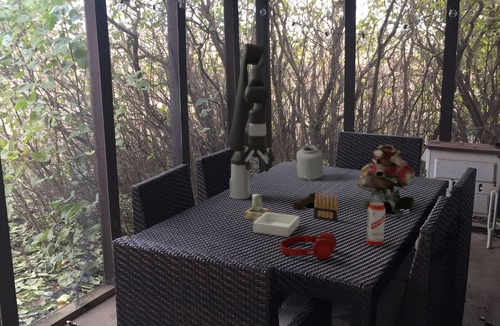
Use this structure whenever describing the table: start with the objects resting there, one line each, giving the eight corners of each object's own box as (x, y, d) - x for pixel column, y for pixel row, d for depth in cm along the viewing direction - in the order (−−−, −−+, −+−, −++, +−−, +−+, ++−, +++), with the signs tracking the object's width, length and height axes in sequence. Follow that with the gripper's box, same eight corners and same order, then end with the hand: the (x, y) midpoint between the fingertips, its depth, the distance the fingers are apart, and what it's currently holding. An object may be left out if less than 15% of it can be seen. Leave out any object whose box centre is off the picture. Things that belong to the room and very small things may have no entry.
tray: (253, 232, 201) (253, 222, 200) (265, 220, 214) (265, 211, 213) (288, 237, 195) (288, 227, 194) (299, 225, 209) (299, 216, 208)
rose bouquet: (415, 202, 241) (420, 141, 235) (407, 220, 215) (412, 152, 209) (363, 196, 252) (366, 137, 245) (349, 212, 226) (352, 147, 219)
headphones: (339, 247, 184) (288, 247, 192) (337, 229, 183) (285, 229, 191) (331, 262, 171) (276, 262, 178) (329, 243, 170) (273, 243, 177)
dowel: (251, 217, 218) (251, 195, 216) (254, 215, 222) (254, 193, 220) (259, 218, 217) (259, 196, 215) (262, 216, 221) (262, 194, 218)
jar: (316, 183, 275) (317, 139, 270) (291, 181, 281) (292, 137, 275) (325, 176, 292) (327, 134, 286) (301, 174, 298) (302, 132, 292)
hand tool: (299, 210, 229) (299, 201, 228) (292, 209, 231) (292, 199, 230) (321, 201, 243) (321, 192, 242) (314, 200, 246) (314, 191, 245)
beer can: (364, 241, 191) (366, 201, 188) (379, 240, 192) (382, 200, 188) (369, 247, 185) (371, 206, 182) (385, 246, 186) (388, 205, 182)
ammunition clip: (338, 220, 215) (339, 193, 212) (336, 221, 213) (337, 195, 210) (314, 217, 219) (315, 190, 217) (313, 218, 218) (314, 191, 215)
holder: (244, 218, 217) (244, 212, 217) (251, 212, 225) (251, 206, 224) (262, 221, 214) (262, 214, 213) (269, 215, 222) (269, 208, 221)
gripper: (238, 134, 211) (239, 171, 214) (270, 136, 206) (270, 174, 209) (245, 131, 218) (245, 167, 221) (276, 133, 212) (275, 170, 216)
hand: (257, 170), depth 215 cm, fingers open, 8 cm apart
